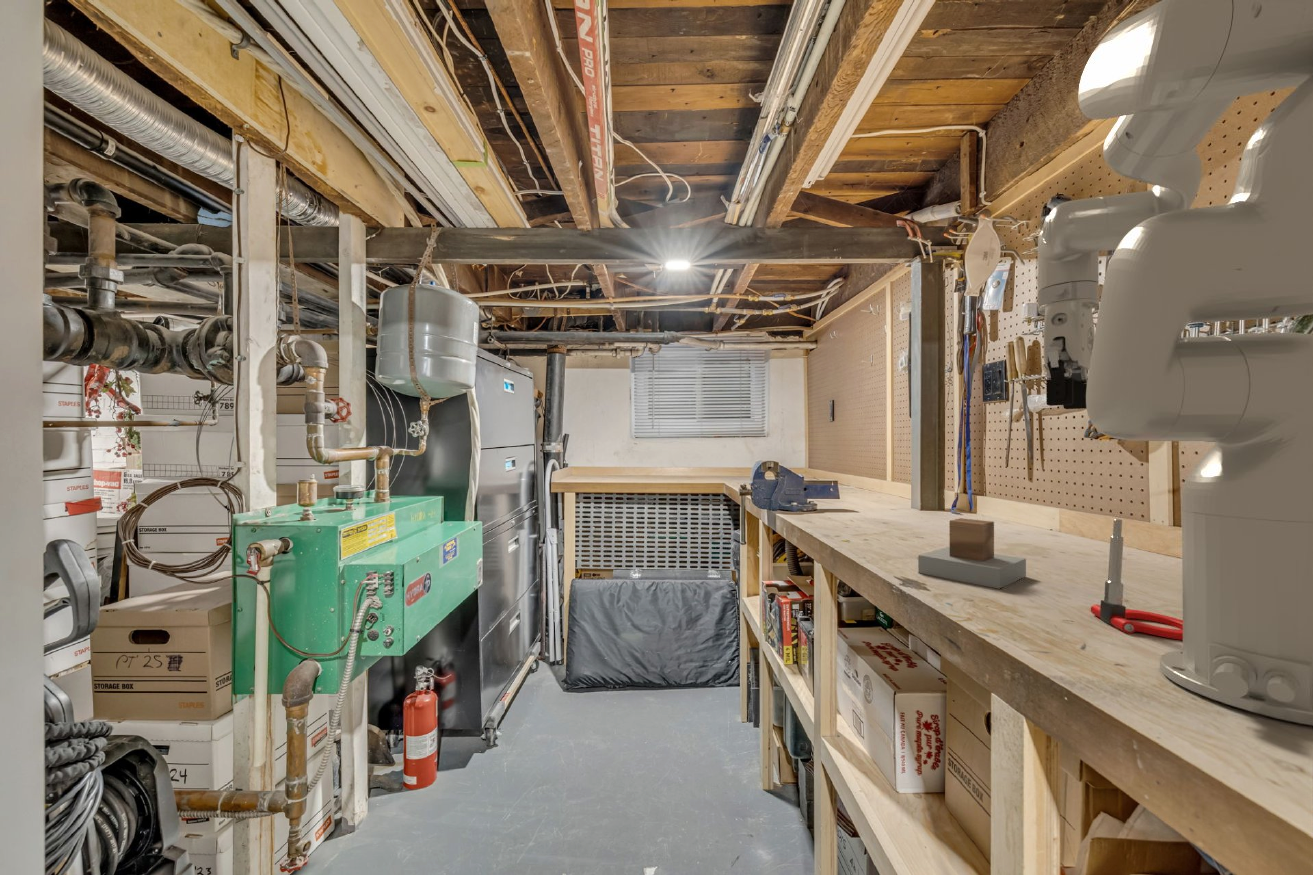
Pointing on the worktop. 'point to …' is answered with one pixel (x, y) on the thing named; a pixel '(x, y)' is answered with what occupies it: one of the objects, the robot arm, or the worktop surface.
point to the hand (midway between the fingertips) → (1068, 406)
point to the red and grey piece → (1112, 601)
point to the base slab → (973, 568)
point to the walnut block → (972, 539)
